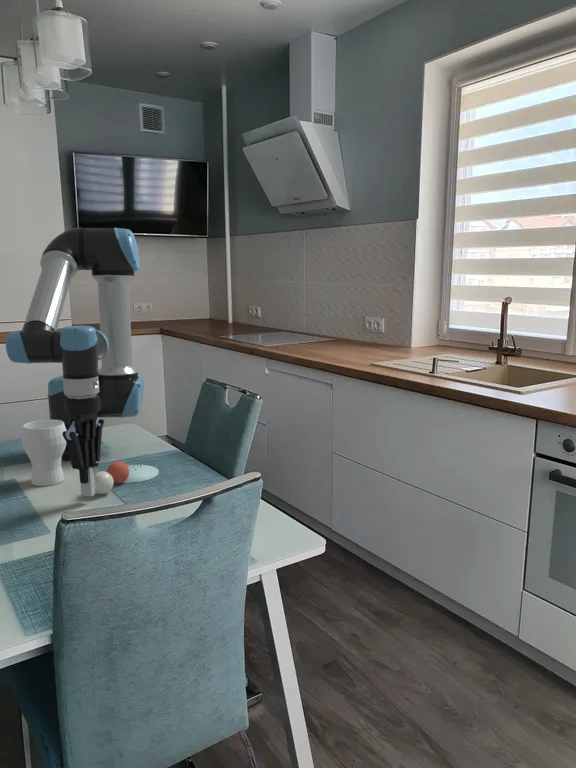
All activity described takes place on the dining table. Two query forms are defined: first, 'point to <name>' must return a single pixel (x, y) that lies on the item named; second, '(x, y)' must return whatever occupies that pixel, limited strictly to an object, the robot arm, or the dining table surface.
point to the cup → (45, 450)
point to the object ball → (118, 471)
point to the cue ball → (103, 482)
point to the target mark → (141, 473)
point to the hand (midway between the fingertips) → (88, 494)
